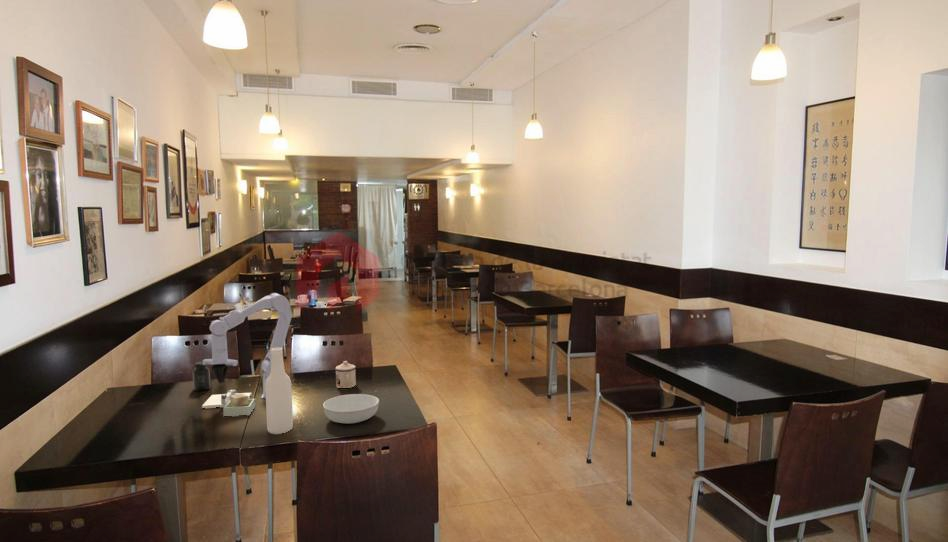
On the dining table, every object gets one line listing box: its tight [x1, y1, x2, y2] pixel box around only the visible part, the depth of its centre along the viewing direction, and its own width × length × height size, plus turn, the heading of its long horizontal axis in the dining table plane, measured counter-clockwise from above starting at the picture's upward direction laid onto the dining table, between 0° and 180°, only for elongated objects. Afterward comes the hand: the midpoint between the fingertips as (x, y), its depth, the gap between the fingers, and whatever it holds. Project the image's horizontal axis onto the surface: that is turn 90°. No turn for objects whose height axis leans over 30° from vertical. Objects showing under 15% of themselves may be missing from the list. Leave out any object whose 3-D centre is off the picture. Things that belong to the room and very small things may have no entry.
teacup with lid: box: [334, 360, 357, 389], centre depth 249 cm, size 12×9×12 cm
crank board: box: [201, 392, 252, 409], centre depth 231 cm, size 16×14×2 cm
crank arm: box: [221, 389, 237, 404], centre depth 230 cm, size 12×4×3 cm, turn 6°
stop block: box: [230, 392, 249, 407], centre depth 219 cm, size 5×5×6 cm
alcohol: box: [265, 348, 294, 435], centre depth 198 cm, size 9×9×30 cm
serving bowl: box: [322, 393, 380, 425], centre depth 210 cm, size 21×21×7 cm
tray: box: [222, 398, 256, 417], centre depth 219 cm, size 10×10×4 cm
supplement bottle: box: [192, 361, 211, 392], centre depth 248 cm, size 7×7×12 cm
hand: (221, 382), depth 227 cm, fingers closed
